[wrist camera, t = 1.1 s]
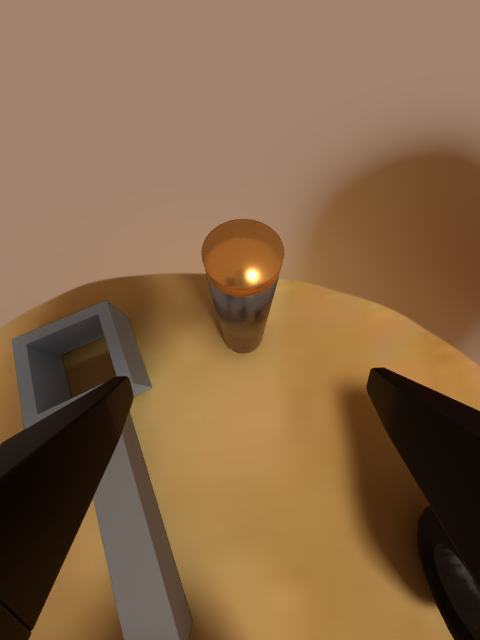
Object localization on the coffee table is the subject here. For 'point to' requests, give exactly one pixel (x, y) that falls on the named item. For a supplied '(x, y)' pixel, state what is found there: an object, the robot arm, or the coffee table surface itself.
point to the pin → (242, 278)
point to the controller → (449, 579)
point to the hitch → (112, 472)
